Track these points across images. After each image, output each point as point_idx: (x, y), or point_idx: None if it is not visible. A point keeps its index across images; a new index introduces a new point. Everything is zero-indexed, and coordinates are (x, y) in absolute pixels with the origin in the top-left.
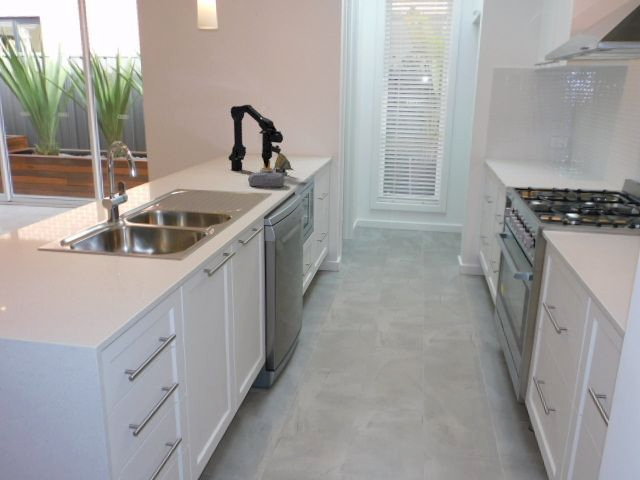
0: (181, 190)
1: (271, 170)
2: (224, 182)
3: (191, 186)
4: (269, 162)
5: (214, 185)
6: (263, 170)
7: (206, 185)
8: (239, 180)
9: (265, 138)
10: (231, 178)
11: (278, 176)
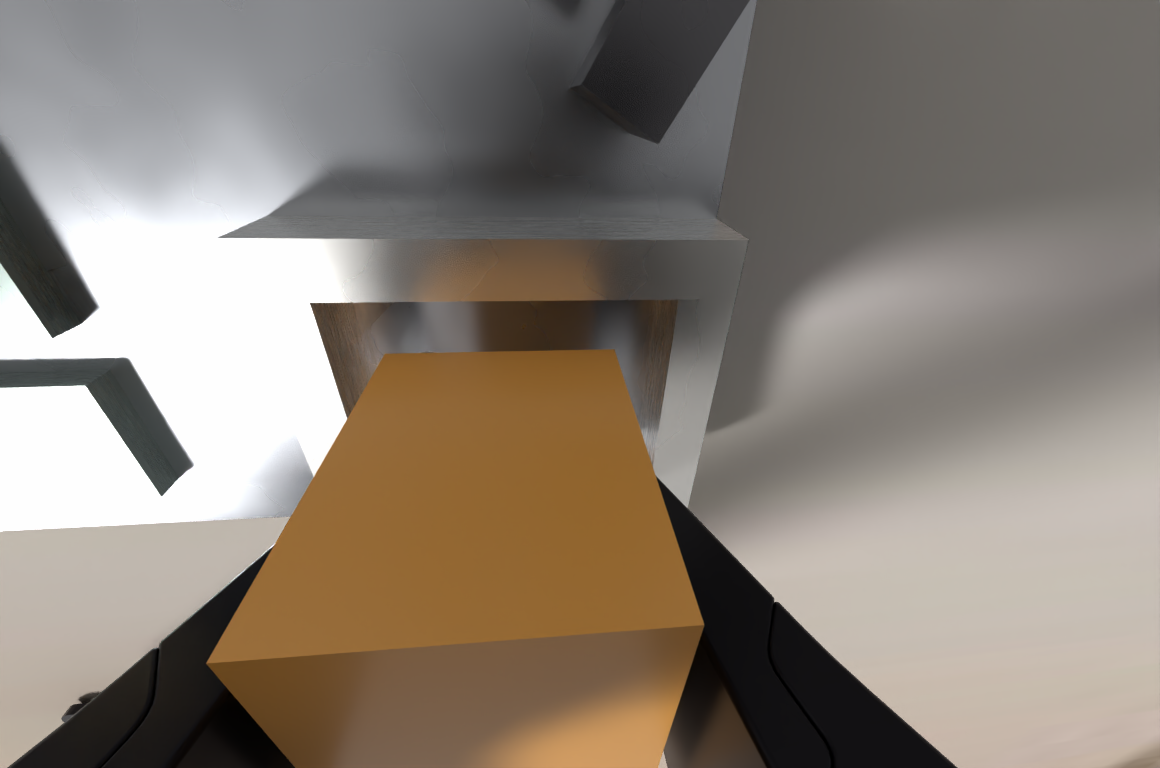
0: (1155, 760)
1: (729, 301)
2: (1027, 679)
3: (1064, 758)
4: (669, 579)
5: (1116, 699)
6: (686, 488)
7: (1082, 724)
8: (985, 615)
9: None
10: None
11: None
